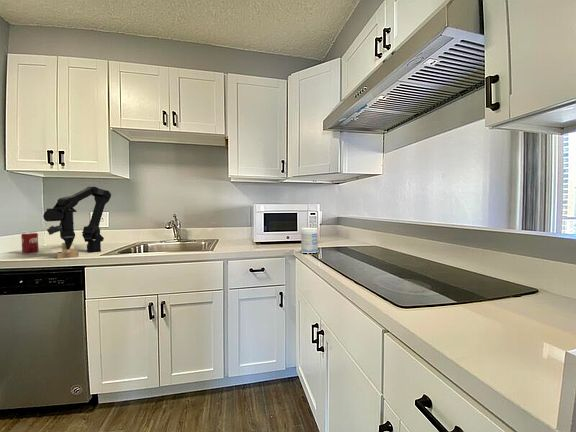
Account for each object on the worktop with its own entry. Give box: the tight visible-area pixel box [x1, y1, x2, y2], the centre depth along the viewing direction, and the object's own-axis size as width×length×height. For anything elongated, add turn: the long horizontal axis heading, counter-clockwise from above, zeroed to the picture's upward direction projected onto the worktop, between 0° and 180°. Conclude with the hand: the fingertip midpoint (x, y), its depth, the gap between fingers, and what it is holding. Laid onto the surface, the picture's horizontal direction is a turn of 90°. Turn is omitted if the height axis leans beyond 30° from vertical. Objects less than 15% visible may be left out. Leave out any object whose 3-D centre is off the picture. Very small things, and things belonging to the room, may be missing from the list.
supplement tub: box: [300, 227, 319, 254], centre depth 162 cm, size 10×10×15 cm
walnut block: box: [57, 249, 80, 260], centre depth 154 cm, size 9×9×3 cm
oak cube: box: [61, 241, 75, 253], centre depth 154 cm, size 5×5×5 cm
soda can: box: [20, 232, 40, 255], centre depth 166 cm, size 7×7×12 cm
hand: (67, 248), depth 154 cm, fingers open, 8 cm apart
